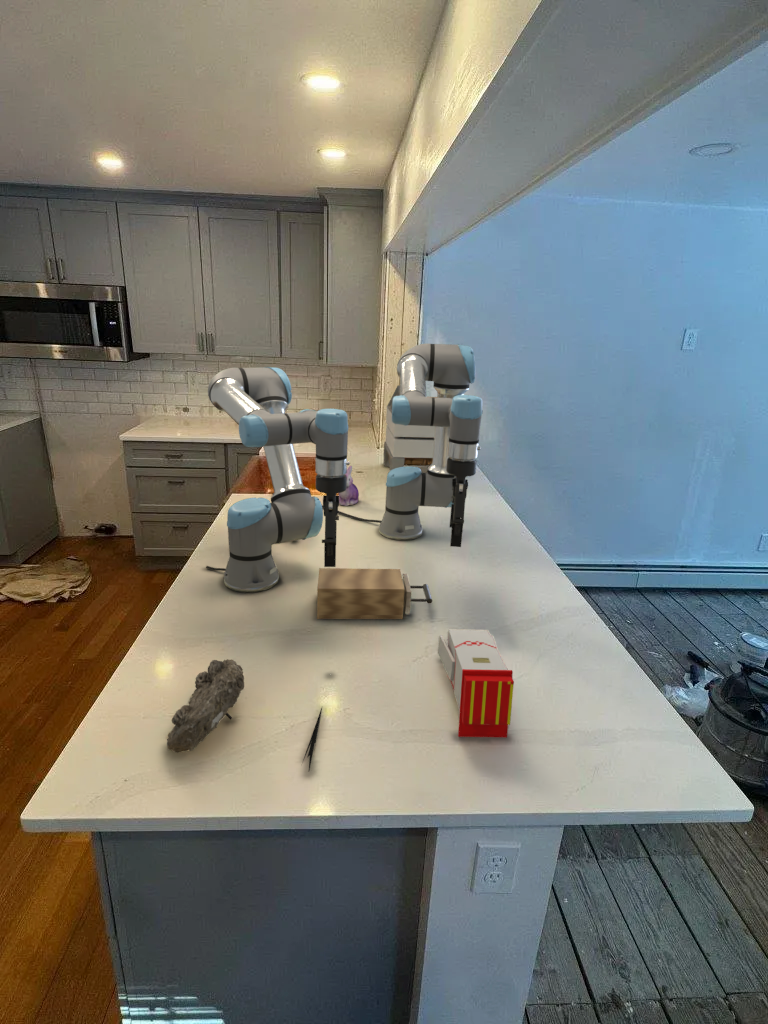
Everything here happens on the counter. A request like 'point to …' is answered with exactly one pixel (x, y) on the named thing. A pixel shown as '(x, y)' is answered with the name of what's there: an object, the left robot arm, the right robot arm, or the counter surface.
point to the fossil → (206, 705)
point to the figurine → (349, 491)
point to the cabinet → (360, 594)
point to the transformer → (407, 442)
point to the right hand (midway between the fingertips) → (455, 536)
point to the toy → (478, 682)
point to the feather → (313, 740)
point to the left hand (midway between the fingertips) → (330, 555)
